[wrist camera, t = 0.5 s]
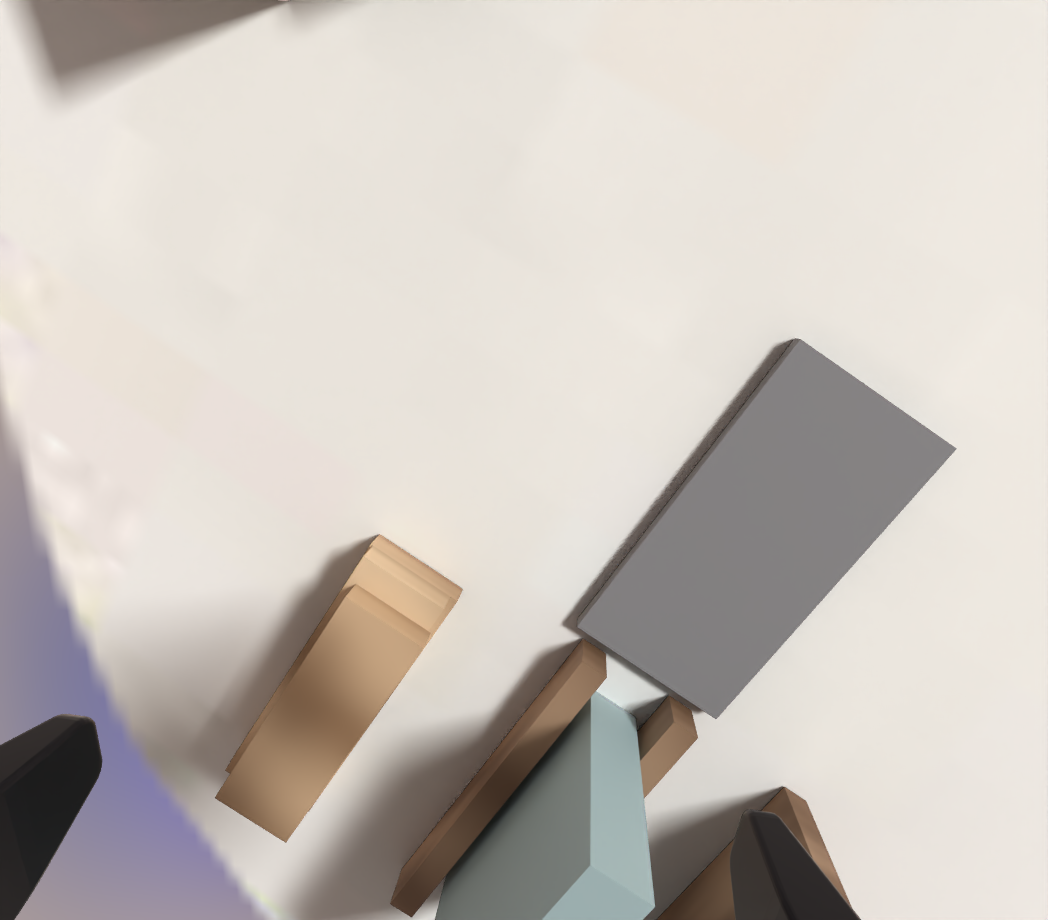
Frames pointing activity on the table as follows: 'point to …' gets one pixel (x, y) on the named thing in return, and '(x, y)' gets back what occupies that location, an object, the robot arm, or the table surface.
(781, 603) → the rubber mat
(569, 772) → the grey-green rectangular slab
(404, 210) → the table surface
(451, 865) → the walnut rack
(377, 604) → the offcut stack
